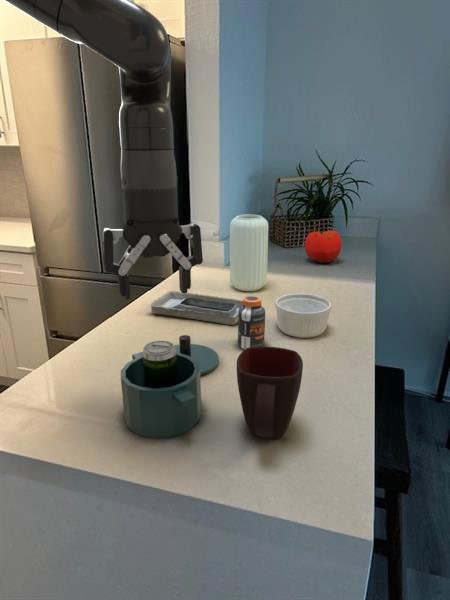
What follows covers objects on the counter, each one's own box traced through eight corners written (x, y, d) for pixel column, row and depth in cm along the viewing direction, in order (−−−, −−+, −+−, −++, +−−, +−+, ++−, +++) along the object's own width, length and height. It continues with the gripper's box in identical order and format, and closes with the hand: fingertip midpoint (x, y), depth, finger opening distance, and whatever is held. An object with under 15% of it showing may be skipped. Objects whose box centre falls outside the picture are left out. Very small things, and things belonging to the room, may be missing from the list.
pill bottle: (251, 353, 93) (252, 305, 89) (232, 345, 97) (232, 297, 93) (269, 345, 97) (271, 298, 93) (250, 337, 101) (251, 291, 97)
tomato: (333, 256, 171) (335, 226, 167) (344, 266, 158) (347, 234, 153) (300, 257, 170) (301, 227, 166) (308, 266, 157) (310, 235, 153)
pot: (152, 459, 62) (148, 409, 59) (108, 401, 76) (103, 358, 73) (224, 428, 69) (224, 381, 66) (171, 380, 83) (169, 340, 80)
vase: (253, 296, 128) (254, 221, 120) (222, 288, 134) (222, 217, 126) (273, 286, 136) (275, 215, 129) (243, 279, 143) (244, 212, 135)
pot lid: (172, 387, 80) (170, 359, 78) (141, 359, 91) (139, 333, 89) (231, 367, 88) (231, 340, 86) (196, 343, 98) (196, 319, 96)
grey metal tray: (170, 299, 126) (169, 289, 125) (252, 308, 118) (252, 298, 117) (147, 315, 114) (147, 305, 113) (237, 327, 106) (237, 316, 105)
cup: (299, 412, 73) (303, 348, 69) (297, 470, 60) (302, 396, 56) (241, 406, 74) (241, 344, 70) (227, 462, 62) (227, 389, 57)
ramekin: (322, 344, 97) (324, 316, 94) (266, 334, 102) (267, 307, 100) (334, 323, 108) (336, 297, 106) (283, 315, 113) (284, 290, 111)
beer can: (182, 403, 75) (179, 340, 70) (174, 422, 70) (170, 356, 65) (152, 401, 75) (147, 339, 71) (142, 419, 70) (136, 353, 66)
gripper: (192, 181, 65) (194, 283, 71) (94, 183, 61) (105, 292, 66) (206, 185, 58) (208, 297, 64) (98, 188, 54) (109, 309, 59)
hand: (155, 294), depth 65 cm, fingers open, 8 cm apart
